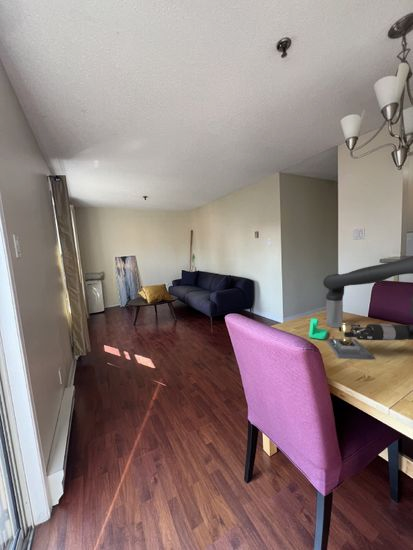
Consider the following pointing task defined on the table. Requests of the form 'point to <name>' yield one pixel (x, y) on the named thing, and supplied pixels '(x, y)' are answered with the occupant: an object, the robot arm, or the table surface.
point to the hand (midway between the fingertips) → (341, 331)
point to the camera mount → (316, 330)
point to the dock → (348, 349)
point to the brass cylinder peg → (344, 328)
